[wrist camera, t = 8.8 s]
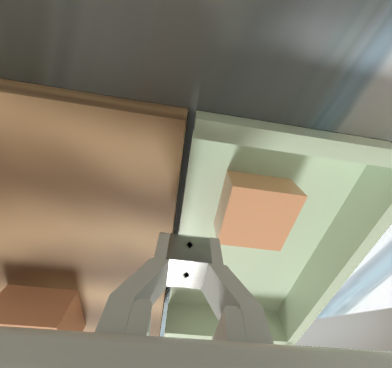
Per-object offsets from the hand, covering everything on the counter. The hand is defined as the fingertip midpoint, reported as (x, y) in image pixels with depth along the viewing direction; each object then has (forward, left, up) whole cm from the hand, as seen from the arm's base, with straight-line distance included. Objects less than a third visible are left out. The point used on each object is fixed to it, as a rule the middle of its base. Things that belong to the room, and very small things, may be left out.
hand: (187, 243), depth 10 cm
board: (+5, -8, -6) cm, 11 cm away
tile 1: (+1, +5, -3) cm, 6 cm away
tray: (+5, +7, -6) cm, 11 cm away
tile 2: (+10, -10, -2) cm, 14 cm away
